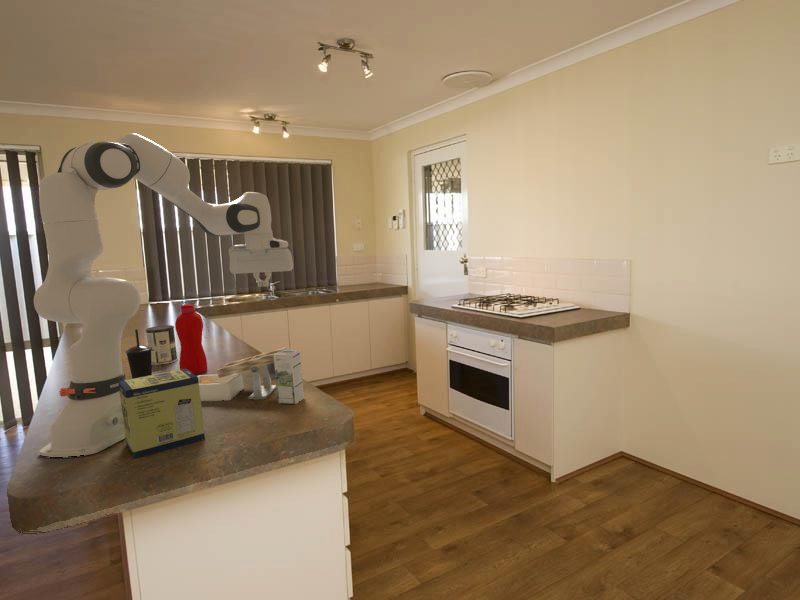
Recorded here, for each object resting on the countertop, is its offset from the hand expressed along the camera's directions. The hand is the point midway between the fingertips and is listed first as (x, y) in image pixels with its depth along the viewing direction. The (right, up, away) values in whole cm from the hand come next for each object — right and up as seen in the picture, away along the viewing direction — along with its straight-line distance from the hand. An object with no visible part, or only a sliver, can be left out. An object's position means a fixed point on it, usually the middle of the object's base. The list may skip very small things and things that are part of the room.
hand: (263, 286), depth 162 cm
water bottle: (-30, -31, +19) cm, 47 cm away
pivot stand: (+3, -33, -11) cm, 35 cm away
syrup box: (+13, -34, -20) cm, 41 cm away
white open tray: (-12, -34, -10) cm, 37 cm away
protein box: (-11, -38, -45) cm, 60 cm away
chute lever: (+2, -29, -8) cm, 30 cm away
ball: (-15, -31, -10) cm, 36 cm away
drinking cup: (-39, -34, -1) cm, 51 cm away
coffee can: (-51, -30, +38) cm, 70 cm away
